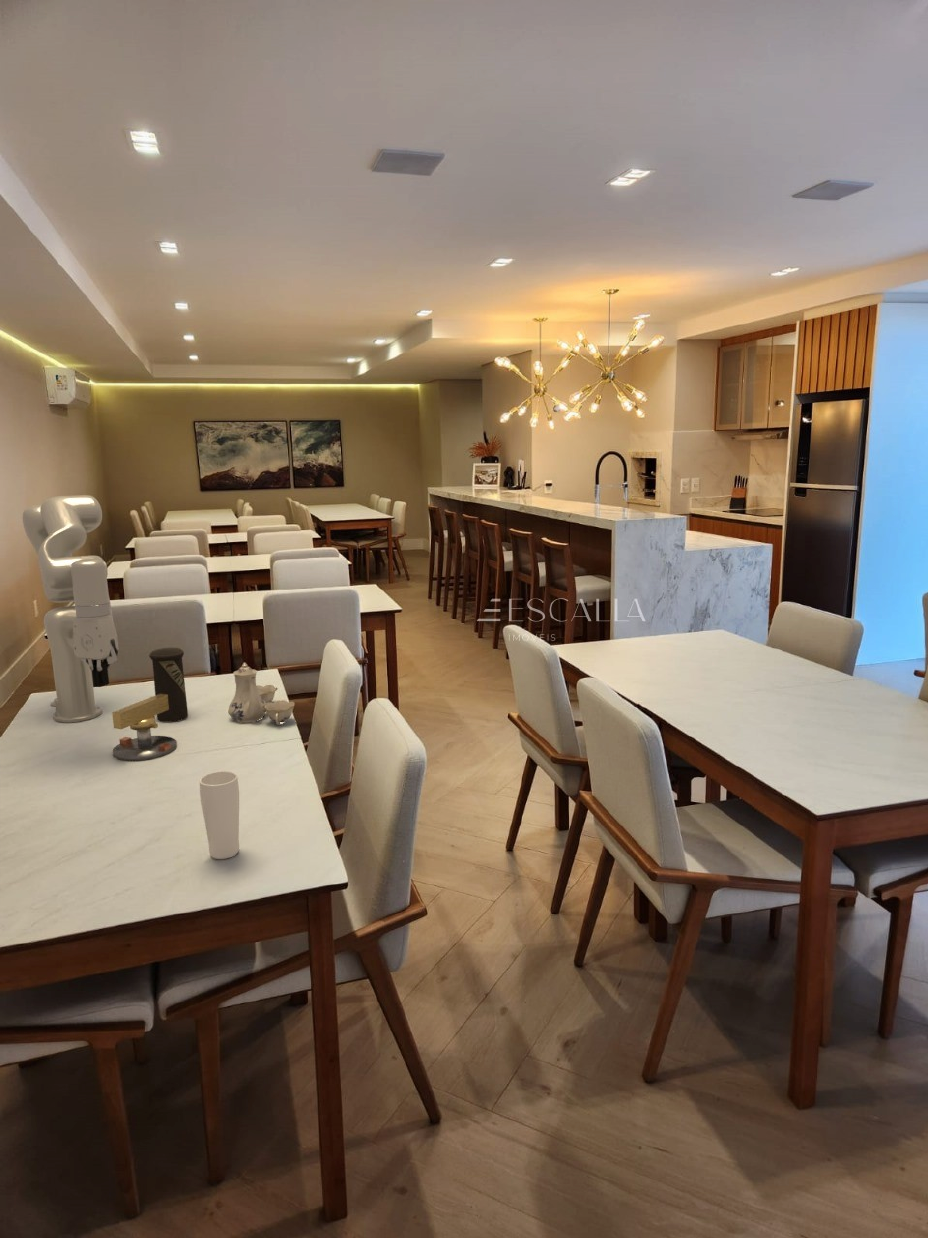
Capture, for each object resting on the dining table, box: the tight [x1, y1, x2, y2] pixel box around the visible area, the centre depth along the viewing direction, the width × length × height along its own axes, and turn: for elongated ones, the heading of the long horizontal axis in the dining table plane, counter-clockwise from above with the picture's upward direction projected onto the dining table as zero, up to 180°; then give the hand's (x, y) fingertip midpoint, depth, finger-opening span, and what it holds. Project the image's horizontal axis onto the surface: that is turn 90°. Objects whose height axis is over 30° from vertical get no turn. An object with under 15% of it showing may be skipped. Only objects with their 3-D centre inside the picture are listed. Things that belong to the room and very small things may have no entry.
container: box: [148, 647, 189, 723], centre depth 222 cm, size 9×9×20 cm
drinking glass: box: [199, 770, 240, 860], centre depth 147 cm, size 7×7×15 cm
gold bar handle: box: [111, 694, 169, 731], centre depth 198 cm, size 9×16×6 cm, turn 158°
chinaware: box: [228, 662, 296, 726], centre depth 224 cm, size 28×17×17 cm, turn 34°
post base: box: [112, 728, 178, 762], centre depth 200 cm, size 15×15×6 cm
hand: (101, 685), depth 194 cm, fingers closed
